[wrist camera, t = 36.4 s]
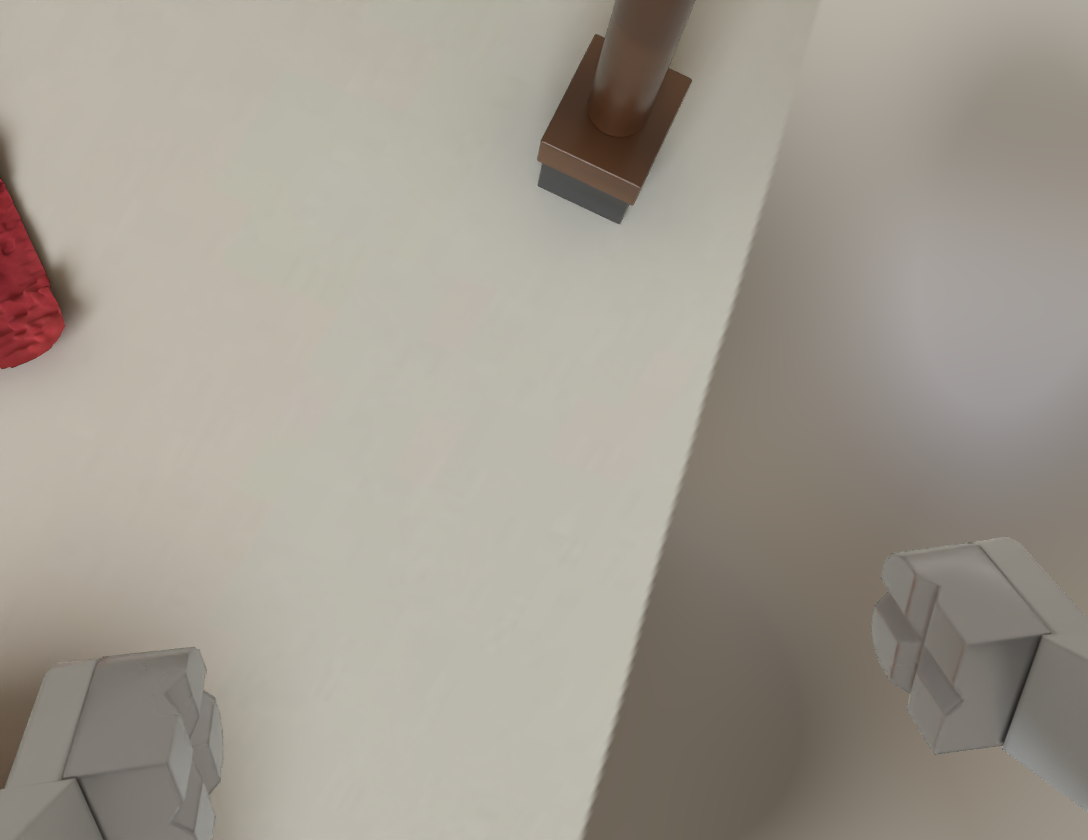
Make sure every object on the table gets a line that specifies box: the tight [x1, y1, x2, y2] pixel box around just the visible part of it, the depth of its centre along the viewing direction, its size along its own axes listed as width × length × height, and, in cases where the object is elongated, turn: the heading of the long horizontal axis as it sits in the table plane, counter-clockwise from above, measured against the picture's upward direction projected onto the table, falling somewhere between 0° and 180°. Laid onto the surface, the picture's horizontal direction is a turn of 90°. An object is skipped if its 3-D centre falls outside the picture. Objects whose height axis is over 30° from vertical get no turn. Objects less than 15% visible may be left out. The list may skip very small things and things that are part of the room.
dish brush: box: [537, 0, 695, 224], centre depth 33 cm, size 5×4×16 cm
